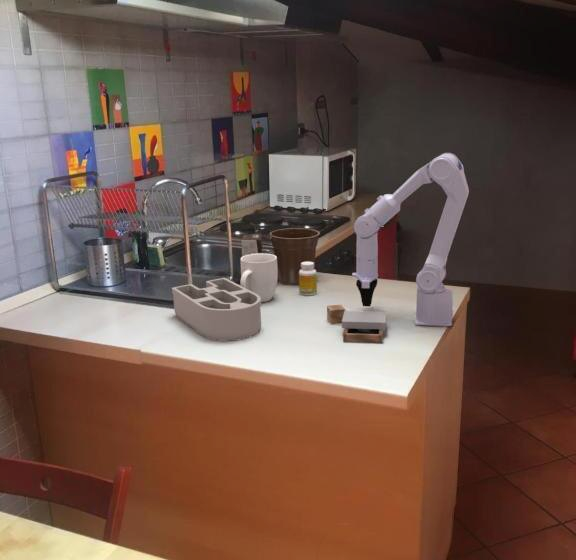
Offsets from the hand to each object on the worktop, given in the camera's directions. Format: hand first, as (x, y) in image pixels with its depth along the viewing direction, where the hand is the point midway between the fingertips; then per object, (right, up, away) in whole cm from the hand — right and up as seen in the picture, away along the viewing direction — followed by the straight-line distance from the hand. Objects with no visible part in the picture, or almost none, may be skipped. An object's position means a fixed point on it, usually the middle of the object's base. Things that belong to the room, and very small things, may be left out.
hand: (366, 305), depth 176 cm
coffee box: (-33, +5, +32) cm, 46 cm away
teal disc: (-2, -6, -10) cm, 12 cm away
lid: (-2, -4, -11) cm, 12 cm away
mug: (-31, +1, +16) cm, 35 cm away
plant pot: (-19, +7, +35) cm, 41 cm away
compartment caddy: (-40, -5, -3) cm, 40 cm away
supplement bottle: (-16, +3, +21) cm, 26 cm away
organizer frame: (-2, -6, -12) cm, 14 cm away
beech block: (-9, -4, -3) cm, 10 cm away
